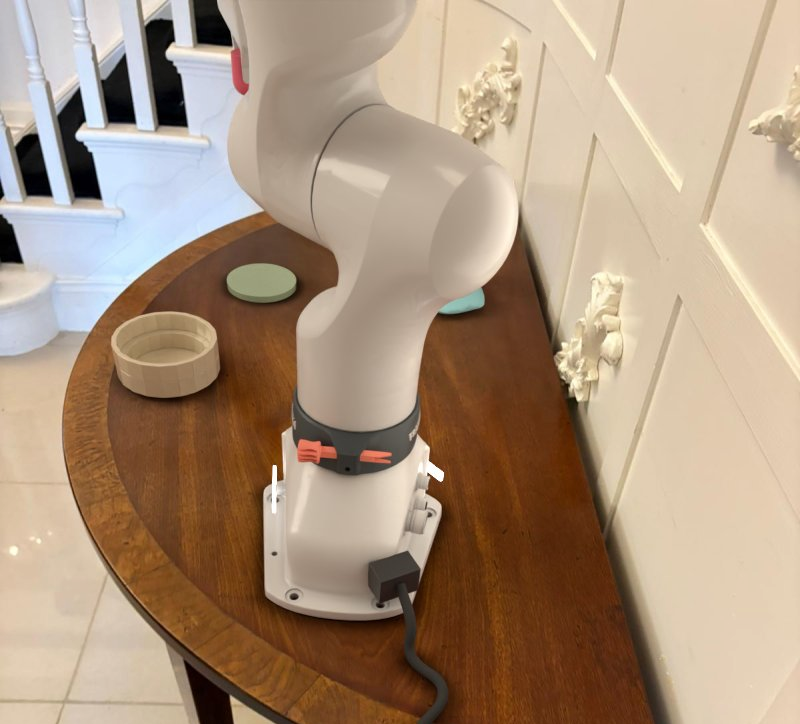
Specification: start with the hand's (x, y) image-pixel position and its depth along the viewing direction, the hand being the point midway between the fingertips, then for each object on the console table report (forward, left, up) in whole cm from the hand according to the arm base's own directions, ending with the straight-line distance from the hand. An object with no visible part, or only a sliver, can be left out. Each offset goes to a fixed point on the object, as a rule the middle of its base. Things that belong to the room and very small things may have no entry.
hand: (247, 75), depth 95 cm
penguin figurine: (+5, -26, -28) cm, 39 cm away
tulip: (0, 0, -13) cm, 13 cm away
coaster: (0, 0, -28) cm, 28 cm away
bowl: (-24, +7, -28) cm, 37 cm away
